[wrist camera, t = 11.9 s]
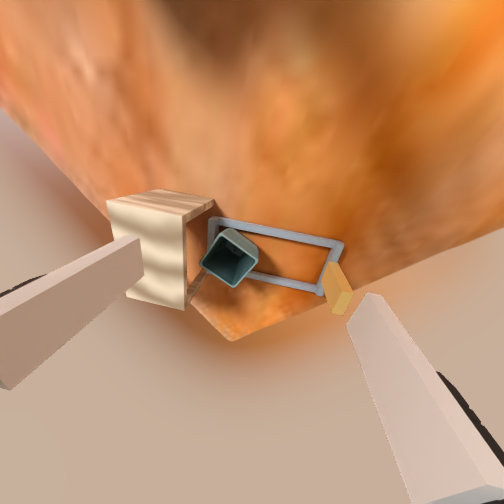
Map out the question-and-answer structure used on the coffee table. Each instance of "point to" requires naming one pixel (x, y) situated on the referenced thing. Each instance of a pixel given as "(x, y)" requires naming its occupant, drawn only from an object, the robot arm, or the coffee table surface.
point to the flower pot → (230, 257)
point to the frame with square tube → (328, 282)
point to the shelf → (160, 242)
